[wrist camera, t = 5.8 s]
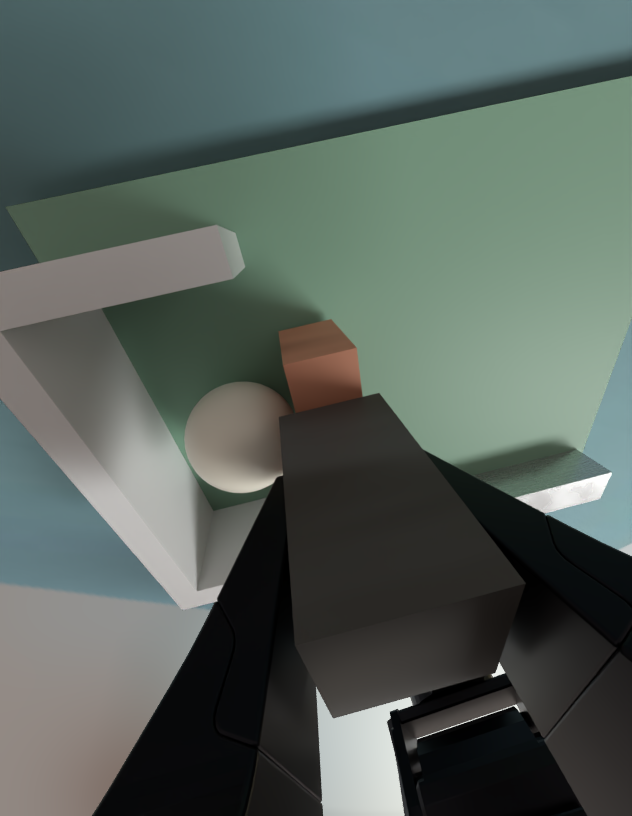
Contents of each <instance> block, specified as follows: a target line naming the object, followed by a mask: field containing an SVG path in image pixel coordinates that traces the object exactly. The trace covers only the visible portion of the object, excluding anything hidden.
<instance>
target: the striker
mask: <svg viewBox="0 0 632 816" xmlns="http://www.w3.org/2000/svg"><path fill="white" fill-rule="evenodd" d="M278 332H279V340H280V347H281V354H282V361H283V367H284V371H285V375H286V378H287V382H288V386H289V390H290V393H291V397H292V401H293V405H294V408H295V412H296V413H294V414H289V415H285V416H281V417H279V427H280V441H281V455H282V469H283V483H284V497H285V512H286V526H287V540H288V554H289V568H290V582H291V596H292V610H293V624H294V639H295V647H296V649H297V651H298V652H299V654H300V656H301V658H302V660H303V662H304V664H305V666H306V668H307V670H308V672H309V673H310V675H311V677H312V679H313V681H314V683H315V685H316V687H317V689H318V691H319V692H320V694H321V696H322V698H323V700H324V702H325V704H326V706H327V708H328V710H329V711H330V713H331V715H332V717H333V718H336V717H340V716H344V715H347V714H351V713H354V712H358V711H361V710H365V709H368V708H372V707H375V706H379V705H383V704H386V703H390V702H393V701H397V700H400V699H404V698H408V697H411V696H415V695H418V694H422V693H425V692H429V691H433V690H436V689H440V688H443V687H447V686H450V685H454V684H457V683H461V682H465V681H468V680H472V679H475V678H479V677H482V676H486V675H490V674H493V673H495V672H496V670H497V666H498V664H499V661H500V658H501V655H502V652H503V649H504V646H505V643H506V640H507V637H508V634H509V631H510V629H511V626H512V623H513V620H514V617H515V614H516V611H517V608H518V605H519V602H520V599H521V596H522V593H523V590H524V587H525V585H526V583H525V582H524V580H523V579H522V578H521V576H520V575H519V574H518V572H517V571H516V570H515V569H514V567H513V566H512V565H511V563H510V562H509V561H508V559H507V558H506V557H505V556H504V554H503V553H502V552H501V550H500V549H499V548H498V546H497V545H496V544H495V543H494V541H493V540H492V539H491V537H490V536H489V535H488V533H487V532H486V531H485V530H484V528H483V527H482V526H481V524H480V523H479V522H478V520H477V519H476V518H475V517H474V515H473V514H472V513H471V511H470V510H469V509H468V507H467V506H466V505H465V504H464V502H463V501H462V500H461V498H460V497H459V496H458V494H457V493H456V492H455V491H454V489H453V488H452V487H451V485H450V484H449V483H448V481H447V480H446V479H445V478H444V476H443V475H442V474H441V472H440V471H439V470H438V468H437V467H436V466H435V465H434V463H433V462H432V461H431V459H430V458H429V457H428V455H427V454H426V453H425V452H424V450H423V449H422V448H421V446H420V445H419V444H418V442H417V441H416V440H415V439H414V437H413V436H412V435H411V433H410V432H409V431H408V429H407V428H406V427H405V426H404V424H403V423H402V422H401V420H400V419H399V418H398V416H397V415H396V414H395V413H394V411H393V410H392V409H391V407H390V406H389V405H388V403H387V402H386V401H385V400H384V398H383V397H382V396H381V394H380V393H376V394H372V395H368V396H364V397H363V395H362V387H361V379H360V371H359V362H358V354H357V348H356V346H355V345H354V344H353V343H352V342H351V341H350V340H349V339H348V337H347V336H346V335H345V334H344V333H343V332H342V331H341V330H340V328H339V327H338V326H337V325H336V324H335V323H334V322H333V321H332V319H329V320H325V321H321V322H316V323H312V324H308V325H303V326H299V327H295V328H291V329H286V330H282V331H278Z"/></svg>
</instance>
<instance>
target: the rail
mask: <svg viewBox="0 0 632 816" xmlns="http://www.w3.org/2000/svg"><path fill="white" fill-rule="evenodd" d="M611 474H612V472H611V471H609V470H608V469H606V468H605V467H603V466H601V465H600V464H598V463H597V462H595V461H594V460H592V459H591V458H589V457H588V456H586V455H585V454H583V453H582V452H580V451H579V450H577V449H574V450H570V451H566V452H563V453H559V454H555V455H551V456H547V457H543V458H539V459H535V460H531V461H527V462H523V463H519V464H516V465H512V466H508V467H504V468H500V469H496V470H492V471H488V472H484V473H480V474H476V475H473V476H475V477H477V478H479V479H480V480H482V481H484V482H486V483H488V484H490V485H492V486H494V487H496V488H498V489H499V490H501V491H503V492H505V493H507V494H509V495H511V496H513V497H515V498H517V499H519V500H520V501H522V502H524V503H526V504H528V505H530V506H532V507H534V508H536V509H538V510H539V511H541V512H543V513H548V512H552V511H555V510H559V509H563V508H567V507H571V506H574V505H578V504H582V503H586V502H590V501H593V500H597V499H600V498H601V495H602V493H603V491H604V489H605V487H606V485H607V482H608V480H609V478H610V476H611Z"/></svg>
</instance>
